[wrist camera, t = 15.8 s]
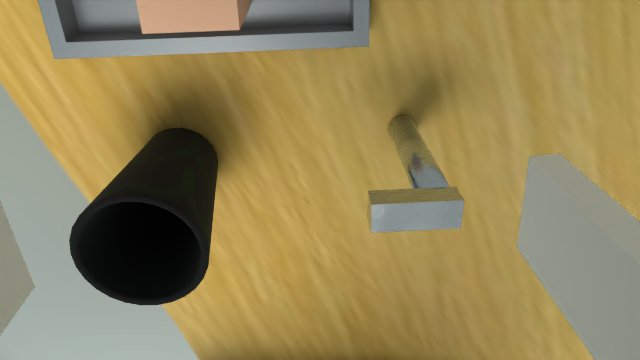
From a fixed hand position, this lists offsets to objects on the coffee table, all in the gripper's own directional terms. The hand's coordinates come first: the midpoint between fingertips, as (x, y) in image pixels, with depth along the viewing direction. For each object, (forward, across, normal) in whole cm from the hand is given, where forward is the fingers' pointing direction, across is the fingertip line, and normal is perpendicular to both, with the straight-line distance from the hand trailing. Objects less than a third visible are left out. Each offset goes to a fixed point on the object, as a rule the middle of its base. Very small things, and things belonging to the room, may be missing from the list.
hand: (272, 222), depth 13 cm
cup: (+25, -9, -9) cm, 28 cm away
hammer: (+25, +7, -7) cm, 27 cm away
